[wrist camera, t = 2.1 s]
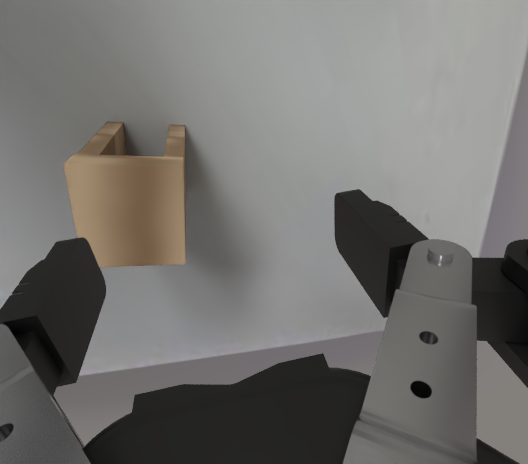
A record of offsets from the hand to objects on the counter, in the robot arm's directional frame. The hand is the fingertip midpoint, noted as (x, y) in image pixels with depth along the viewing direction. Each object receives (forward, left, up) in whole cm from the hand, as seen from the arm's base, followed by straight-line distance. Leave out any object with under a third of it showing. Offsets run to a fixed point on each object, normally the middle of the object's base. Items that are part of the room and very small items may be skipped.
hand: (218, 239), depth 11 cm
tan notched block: (-4, -4, -20) cm, 21 cm away
